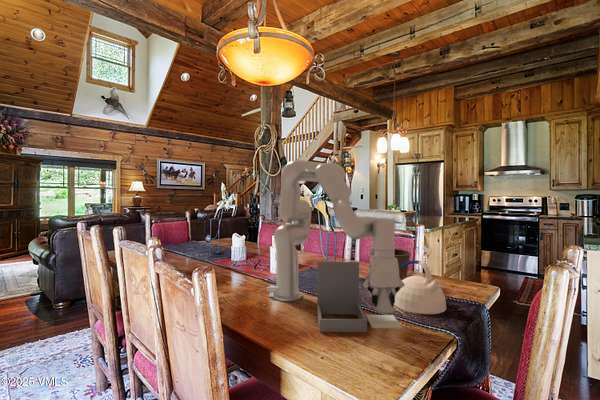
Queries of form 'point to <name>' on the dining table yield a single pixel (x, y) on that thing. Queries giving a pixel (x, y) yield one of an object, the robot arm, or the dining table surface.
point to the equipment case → (339, 296)
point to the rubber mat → (383, 321)
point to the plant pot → (402, 262)
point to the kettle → (421, 293)
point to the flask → (383, 302)
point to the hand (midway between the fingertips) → (383, 304)
